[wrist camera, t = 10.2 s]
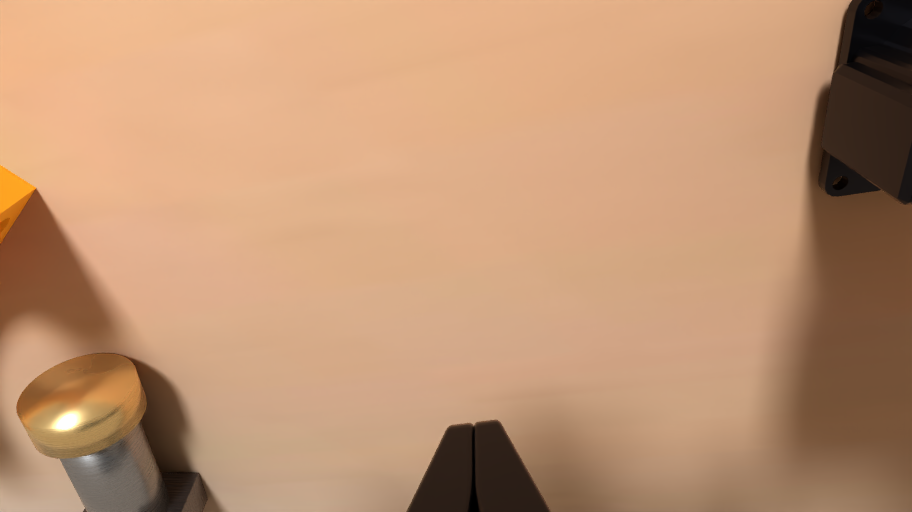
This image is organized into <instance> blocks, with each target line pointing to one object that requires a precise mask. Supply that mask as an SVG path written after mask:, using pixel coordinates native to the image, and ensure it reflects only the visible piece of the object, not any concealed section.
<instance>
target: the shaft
mask: <svg viewBox="0 0 912 512" xmlns="http://www.w3.org/2000/svg"><path fill="white" fill-rule="evenodd" d="M146 406H147V399H146V396H145V393H144V390H143V387H142V385H141V382H140V379H139V377H138V374H137V371H136V368H135V366H134V364H133V363H132V362H131V361H130V360H129V359H127V358H126V357H124V356H121V355H117V354H112V353H97V354H89V355H84V356H80V357H76V358H73V359H70V360H68V361H65V362H62V363H60V364H58V365H56V366H54V367H52V368H50V369H49V370H47V371H45V372H44V373H42V374H41V375H39V376H38V377H37V378H36V379H34V380H33V381H32V382H31V383H30V384H29V385H28V386H27V387H26V388H25V390H24V391H23V392H22V394H21V395H20V397H19V399H18V402H17V414H18V416H19V418H20V420H21V422H22V424H23V426H24V428H25V429H26V431H27V433H28V435H29V437H30V439H31V441H32V442H33V444H34V446H35V448H36V449H37V450H38V451H39V452H40V453H42V454H44V455H46V456H49V457H52V458H60V460H61V462H62V464H63V466H64V468H65V470H66V472H67V474H68V476H69V478H70V480H71V482H72V484H73V486H74V488H75V489H76V491H77V493H78V495H79V497H80V499H81V501H82V503H83V505H84V507H85V509H84V511H83V512H203V509H204V507H205V504H206V502H207V497H206V494H205V491H204V488H203V485H202V482H201V479H200V476H199V473H160V471H159V468H158V465H157V463H156V460H155V458H154V455H153V452H152V450H151V447H150V445H149V442H148V440H147V437H146V434H145V432H144V429H143V427H142V424H141V422H140V420H141V419H142V417H143V415H144V413H145V410H146Z"/></svg>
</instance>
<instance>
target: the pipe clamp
mask: <svg viewBox="0 0 912 512" xmlns="http://www.w3.org/2000/svg"><path fill="white" fill-rule="evenodd" d="M35 189H36V188H35V187H34V186H32V185H31V184H29V183H28V182H26V181H24V180H23V179H21V178H20V177H18V176H17V175H15V174H13V173H12V172H10V171H9V170H7V169H6V168H4V167H3V166H1V165H0V244H1V242H2V241H3V239H4V237H5V236H6V234H7V233H8V231H9V230H10V228H11V227H12V225H13V223H14V222H15V220H16V219H17V217H18V216H19V214H20V212H21V211H22V209H23V208H24V206H25V205H26V203H27V202H28V200H29V198H30V197H31V195H32V194H33V192H34V191H35Z"/></svg>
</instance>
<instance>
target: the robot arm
mask: <svg viewBox="0 0 912 512" xmlns="http://www.w3.org/2000/svg"><path fill="white" fill-rule="evenodd" d="M872 1H874V2H875V6H874V9H873V11H872V12H871V13H870V14H869V15H867V16H865V13H864V11H865V9H866V6H867V5H868V4H869V3H870V2H872ZM821 146H822V148H823V149H824V152H823V158H822V164H821V169H820V175H819V186H820V188H821V189H822V190H823V191H825V192H826V193H827V194H829V195H831V196H844V195H851V194H858V193H865V192H871V191H878V190H882V191H884V192H885V193H887V194H888V195H889V196H891V197H892V198H894V199H895V200H897V201H898V202H900V203H901V204H904V205H906V204H912V0H852V1H851V3H850V5H849V8H848V11H847V17H846V23H845V29H844V35H843V41H842V46H841V52H840V58H839V64H838V67H837V69H836V70H835V71H834V73H833V76H832V82H831V88H830V94H829V100H828V106H827V112H826V118H825V124H824V130H823V136H822V142H821ZM840 176H842V178H841V180H840V181H839V182H838V183H837V184H834V185H832V184H833V182H834V180H835V179H836V178H838V177H840ZM407 512H551V511H550V509H549V507H548V506H547V504H546V502H545V500H544V498H543V497H542V495H541V493H540V491H539V490H538V488H537V486H536V484H535V483H534V481H533V479H532V477H531V475H530V474H529V472H528V470H527V468H526V467H525V465H524V463H523V461H522V460H521V458H520V456H519V454H518V452H517V451H516V449H515V447H514V445H513V444H512V442H511V440H510V438H509V437H508V435H507V433H506V431H505V429H504V428H503V426H502V424H501V423H500V422H499V421H498V420H489V421H481V422H477V423H475V425H473V424H471V423H465V424H456V425H451V426H449V427H448V428H447V430H446V431H445V434H444V436H443V438H442V440H441V442H440V444H439V446H438V448H437V450H436V452H435V454H434V456H433V458H432V460H431V462H430V464H429V467H428V469H427V471H426V473H425V475H424V477H423V479H422V481H421V483H420V485H419V487H418V489H417V491H416V493H415V495H414V497H413V499H412V502H411V504H410V506H409V508H408V510H407Z"/></svg>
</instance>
